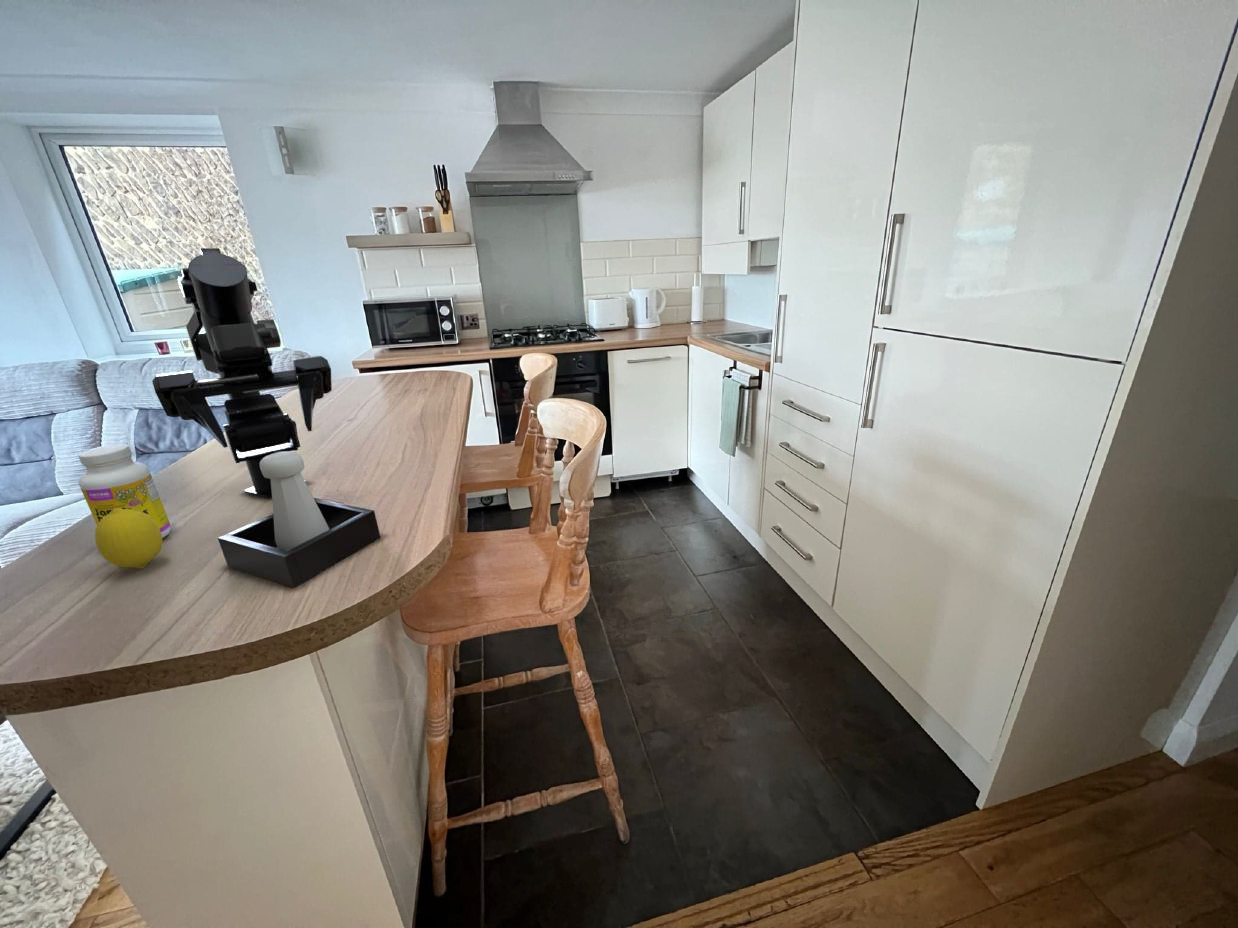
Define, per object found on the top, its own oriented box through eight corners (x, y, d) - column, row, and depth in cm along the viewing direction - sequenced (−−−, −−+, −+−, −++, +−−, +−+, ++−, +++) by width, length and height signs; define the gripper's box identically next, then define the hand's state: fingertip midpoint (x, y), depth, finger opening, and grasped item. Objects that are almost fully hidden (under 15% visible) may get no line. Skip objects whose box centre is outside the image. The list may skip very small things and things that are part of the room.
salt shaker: (309, 566, 60) (279, 464, 56) (269, 562, 61) (236, 462, 57) (343, 541, 66) (318, 447, 61) (305, 538, 67) (278, 445, 62)
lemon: (136, 557, 64) (111, 500, 61) (182, 554, 64) (159, 497, 61) (98, 582, 58) (68, 521, 56) (148, 579, 59) (121, 517, 56)
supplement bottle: (99, 557, 64) (54, 463, 59) (118, 535, 69) (78, 447, 65) (165, 543, 67) (128, 452, 62) (179, 523, 72) (145, 438, 68)
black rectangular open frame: (227, 567, 61) (217, 537, 59) (318, 522, 71) (311, 497, 69) (294, 588, 56) (284, 557, 55) (380, 537, 66) (374, 510, 65)
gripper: (124, 304, 57) (156, 417, 53) (310, 294, 68) (349, 388, 64) (152, 366, 66) (182, 467, 62) (314, 348, 76) (348, 433, 72)
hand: (269, 437), depth 65 cm, fingers open, 9 cm apart
